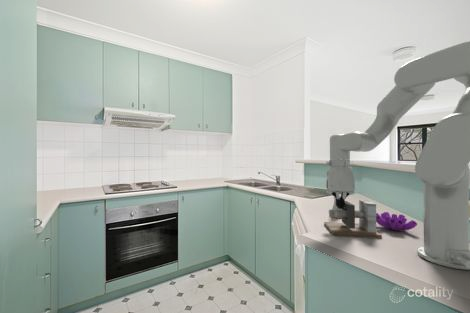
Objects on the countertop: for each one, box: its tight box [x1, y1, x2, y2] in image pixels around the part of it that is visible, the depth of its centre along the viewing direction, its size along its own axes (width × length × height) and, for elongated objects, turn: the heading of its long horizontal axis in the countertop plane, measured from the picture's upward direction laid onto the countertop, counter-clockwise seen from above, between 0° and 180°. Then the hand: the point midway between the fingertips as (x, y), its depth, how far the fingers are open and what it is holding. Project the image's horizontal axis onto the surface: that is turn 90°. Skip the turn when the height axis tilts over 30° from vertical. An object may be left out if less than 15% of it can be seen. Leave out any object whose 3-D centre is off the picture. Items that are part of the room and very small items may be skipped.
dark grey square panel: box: [341, 200, 356, 228], centre depth 87 cm, size 9×2×9 cm, turn 171°
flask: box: [331, 196, 342, 219], centre depth 109 cm, size 7×7×10 cm
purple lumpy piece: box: [376, 211, 418, 231], centre depth 90 cm, size 11×15×10 cm
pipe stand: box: [323, 199, 383, 239], centre depth 87 cm, size 14×17×12 cm
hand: (340, 208), depth 88 cm, fingers closed
